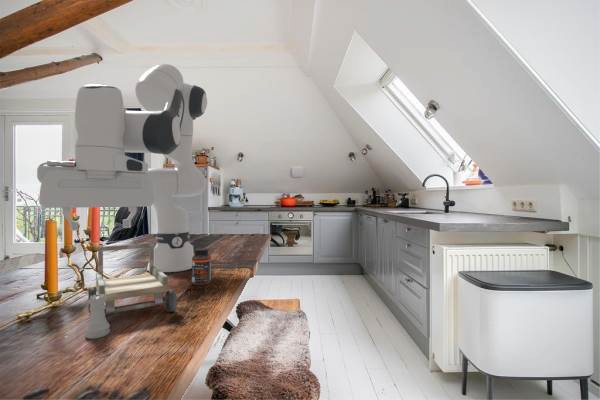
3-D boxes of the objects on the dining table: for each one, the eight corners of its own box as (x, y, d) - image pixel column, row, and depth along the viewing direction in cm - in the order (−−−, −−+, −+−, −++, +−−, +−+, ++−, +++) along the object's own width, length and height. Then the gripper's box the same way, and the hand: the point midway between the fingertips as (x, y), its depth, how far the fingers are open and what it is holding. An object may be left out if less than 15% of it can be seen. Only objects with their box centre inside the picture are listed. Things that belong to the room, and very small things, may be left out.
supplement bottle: (192, 287, 100) (192, 250, 100) (190, 282, 105) (190, 248, 105) (212, 285, 102) (212, 249, 102) (209, 280, 108) (209, 246, 108)
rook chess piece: (82, 334, 66) (82, 295, 66) (107, 328, 69) (107, 291, 69) (86, 341, 62) (86, 300, 62) (112, 335, 65) (112, 295, 65)
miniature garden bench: (88, 305, 83) (87, 246, 83) (159, 293, 93) (159, 240, 92) (91, 331, 67) (90, 257, 67) (176, 313, 77) (176, 249, 77)
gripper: (35, 158, 59) (35, 233, 59) (155, 164, 70) (156, 227, 71) (38, 160, 64) (39, 230, 64) (150, 166, 75) (150, 225, 76)
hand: (101, 228), depth 68 cm, fingers open, 8 cm apart
